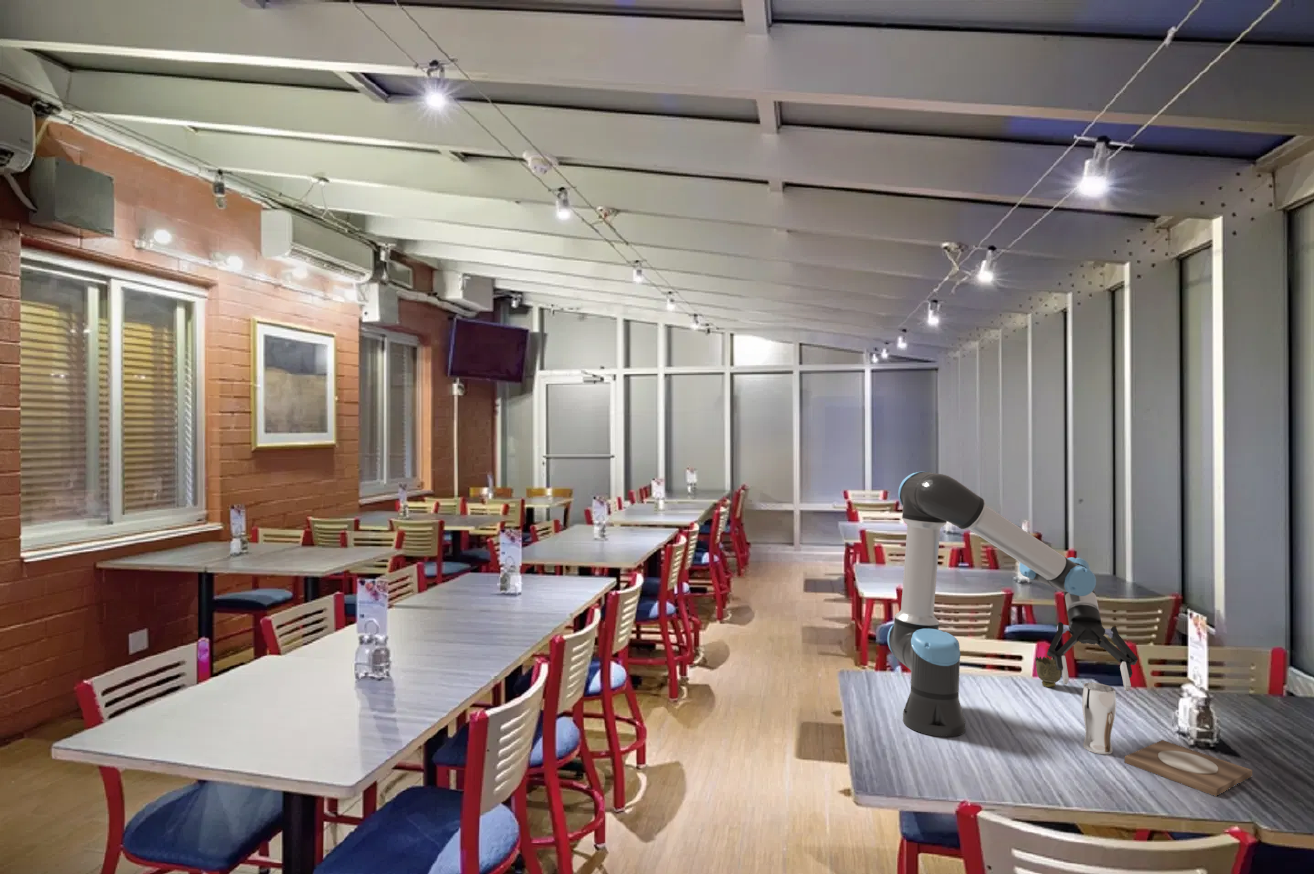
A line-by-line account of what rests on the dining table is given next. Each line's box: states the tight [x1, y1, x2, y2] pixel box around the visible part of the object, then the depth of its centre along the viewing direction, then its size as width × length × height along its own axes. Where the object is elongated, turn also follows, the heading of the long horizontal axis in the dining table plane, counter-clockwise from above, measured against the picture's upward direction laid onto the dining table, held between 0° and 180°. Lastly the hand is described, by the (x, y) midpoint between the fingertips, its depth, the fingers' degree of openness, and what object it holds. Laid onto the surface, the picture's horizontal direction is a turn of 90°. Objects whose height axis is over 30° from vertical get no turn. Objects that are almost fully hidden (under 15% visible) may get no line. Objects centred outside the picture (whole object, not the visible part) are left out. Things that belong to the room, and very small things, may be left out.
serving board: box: [1124, 739, 1253, 797], centre depth 165 cm, size 18×18×2 cm
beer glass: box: [1081, 682, 1117, 756], centre depth 175 cm, size 7×7×15 cm
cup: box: [1035, 656, 1062, 689], centre depth 219 cm, size 8×7×8 cm
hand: (1096, 685), depth 182 cm, fingers open, 13 cm apart
